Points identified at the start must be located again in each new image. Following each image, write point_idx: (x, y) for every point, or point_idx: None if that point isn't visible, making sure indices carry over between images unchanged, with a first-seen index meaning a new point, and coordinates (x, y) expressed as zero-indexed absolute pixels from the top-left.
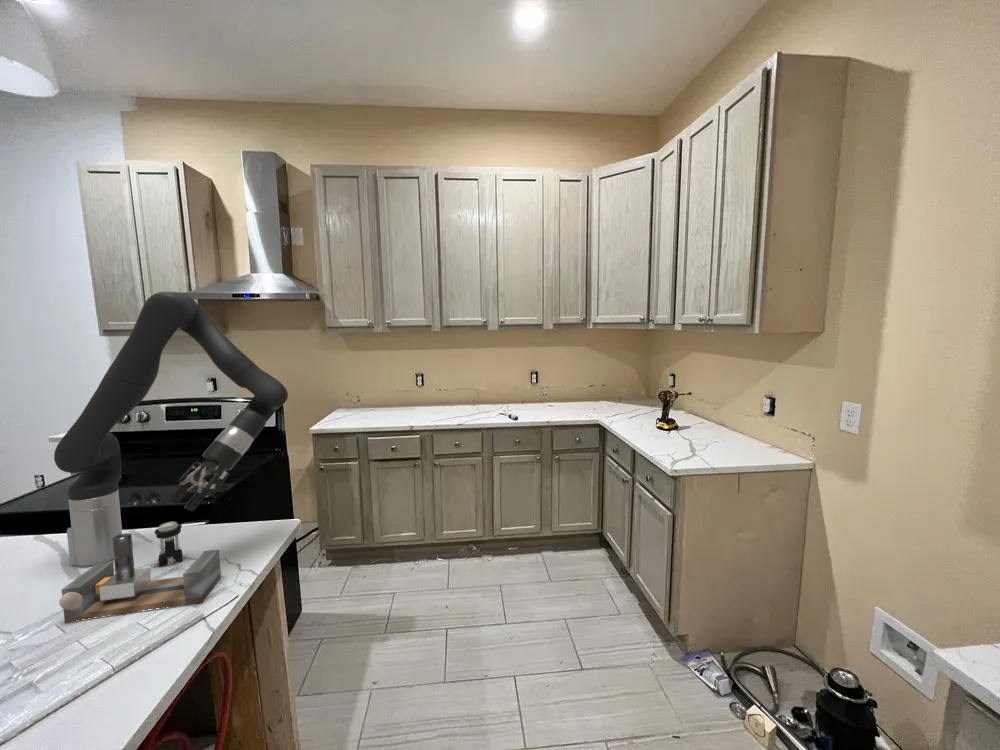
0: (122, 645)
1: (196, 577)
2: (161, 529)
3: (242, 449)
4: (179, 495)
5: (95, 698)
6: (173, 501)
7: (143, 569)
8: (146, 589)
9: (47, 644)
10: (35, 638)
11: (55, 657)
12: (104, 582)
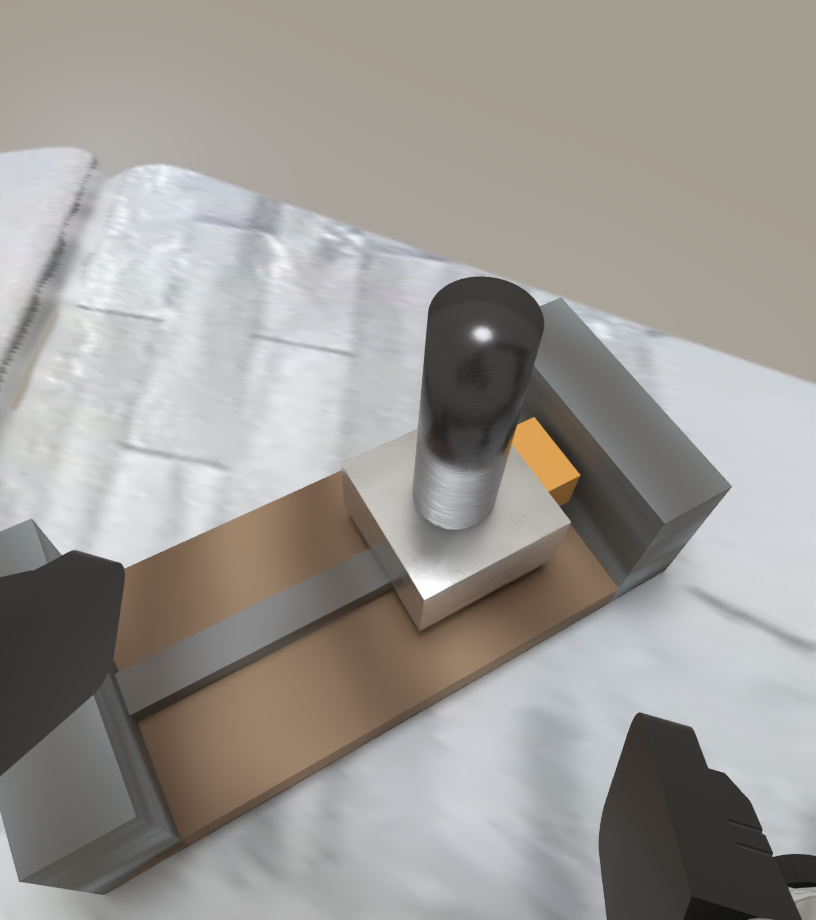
0: (146, 369)
1: None
2: (809, 896)
3: None
4: (633, 871)
5: (8, 231)
6: (622, 777)
7: (440, 573)
8: (347, 560)
9: None
10: None
11: (325, 295)
12: (517, 442)
